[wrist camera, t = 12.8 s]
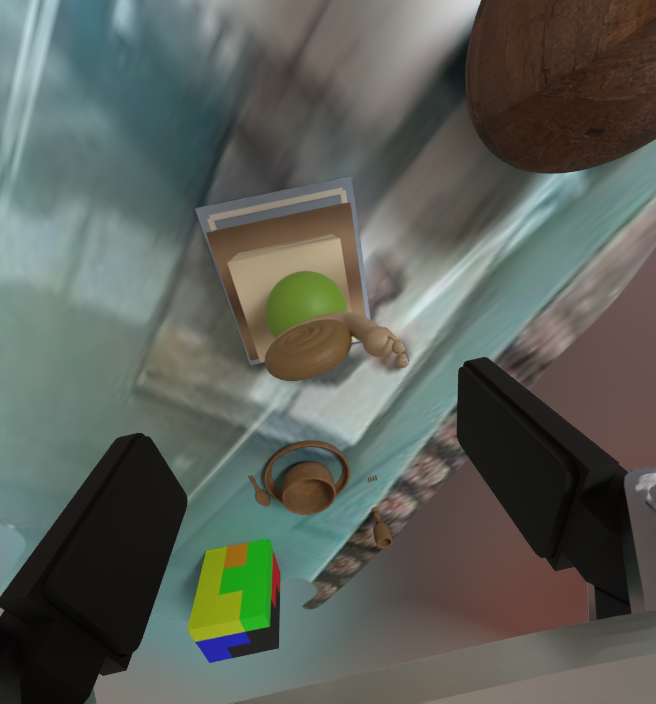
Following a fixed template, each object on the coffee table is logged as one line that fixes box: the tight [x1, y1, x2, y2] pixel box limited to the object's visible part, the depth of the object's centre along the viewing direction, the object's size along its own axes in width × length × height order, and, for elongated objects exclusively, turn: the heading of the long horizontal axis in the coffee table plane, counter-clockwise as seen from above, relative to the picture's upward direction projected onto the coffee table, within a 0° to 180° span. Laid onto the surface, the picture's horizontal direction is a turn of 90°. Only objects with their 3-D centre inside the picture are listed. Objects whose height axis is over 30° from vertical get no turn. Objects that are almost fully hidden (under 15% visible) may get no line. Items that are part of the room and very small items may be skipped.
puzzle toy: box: [187, 539, 280, 663], centre depth 45 cm, size 10×10×10 cm
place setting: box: [248, 441, 393, 548], centre depth 42 cm, size 18×20×6 cm
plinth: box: [206, 202, 366, 362], centre depth 26 cm, size 12×12×8 cm
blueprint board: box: [195, 176, 370, 366], centre depth 30 cm, size 16×14×1 cm
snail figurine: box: [265, 271, 409, 381], centre depth 17 cm, size 5×6×12 cm
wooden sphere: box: [465, 0, 656, 174], centre depth 18 cm, size 15×15×15 cm
